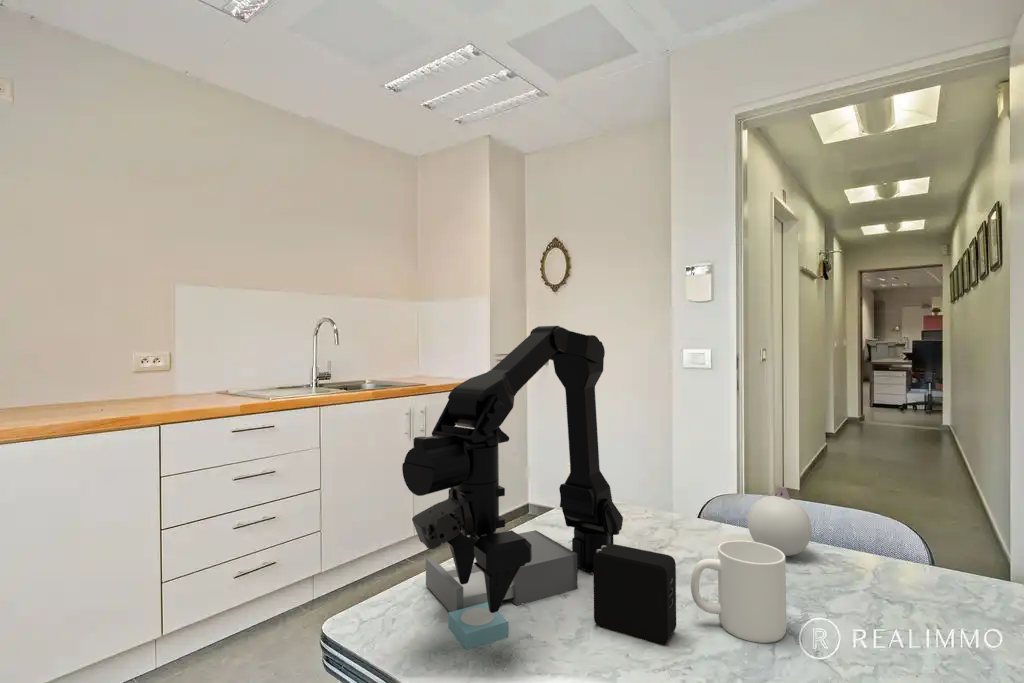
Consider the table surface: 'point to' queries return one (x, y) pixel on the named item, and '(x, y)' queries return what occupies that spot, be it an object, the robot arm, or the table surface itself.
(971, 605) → the table surface
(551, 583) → the grey drawer box
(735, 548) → the cup
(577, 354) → the robot arm
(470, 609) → the block
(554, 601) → the table surface
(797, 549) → the ornament
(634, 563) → the electronic device
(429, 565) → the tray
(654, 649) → the table surface
